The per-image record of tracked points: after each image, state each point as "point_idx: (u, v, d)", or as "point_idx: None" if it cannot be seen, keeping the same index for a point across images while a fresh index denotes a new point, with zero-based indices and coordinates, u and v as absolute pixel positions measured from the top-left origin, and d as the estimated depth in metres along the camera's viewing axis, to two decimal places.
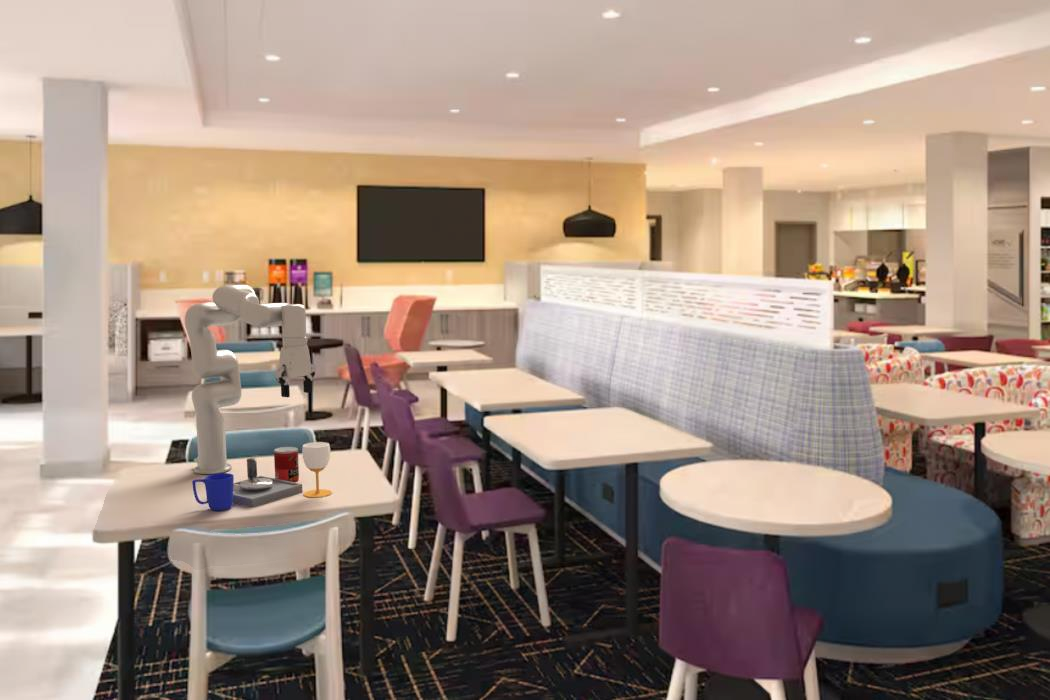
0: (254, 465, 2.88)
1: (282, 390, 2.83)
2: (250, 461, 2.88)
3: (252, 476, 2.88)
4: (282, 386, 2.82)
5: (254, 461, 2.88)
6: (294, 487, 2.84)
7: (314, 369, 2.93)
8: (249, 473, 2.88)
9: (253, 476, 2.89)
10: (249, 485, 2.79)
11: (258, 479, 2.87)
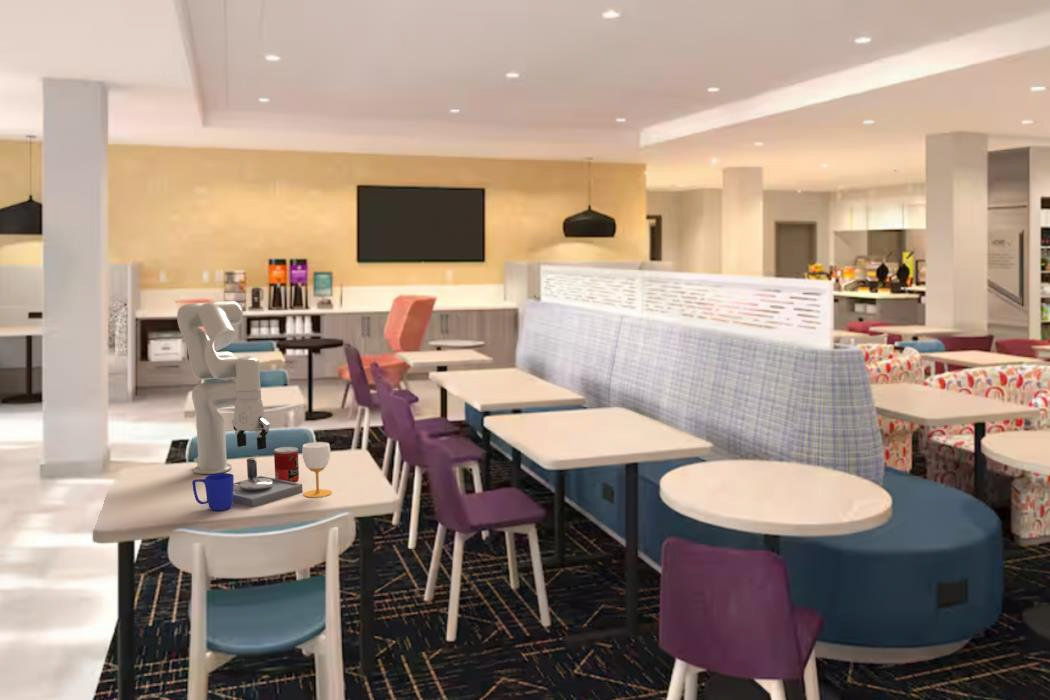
0: (254, 465, 2.88)
1: (263, 442, 2.85)
2: (250, 461, 2.88)
3: (252, 476, 2.88)
4: (263, 438, 2.85)
5: (254, 461, 2.88)
6: (294, 487, 2.84)
7: None
8: (249, 473, 2.88)
9: (253, 476, 2.89)
10: (249, 485, 2.79)
11: (258, 479, 2.87)
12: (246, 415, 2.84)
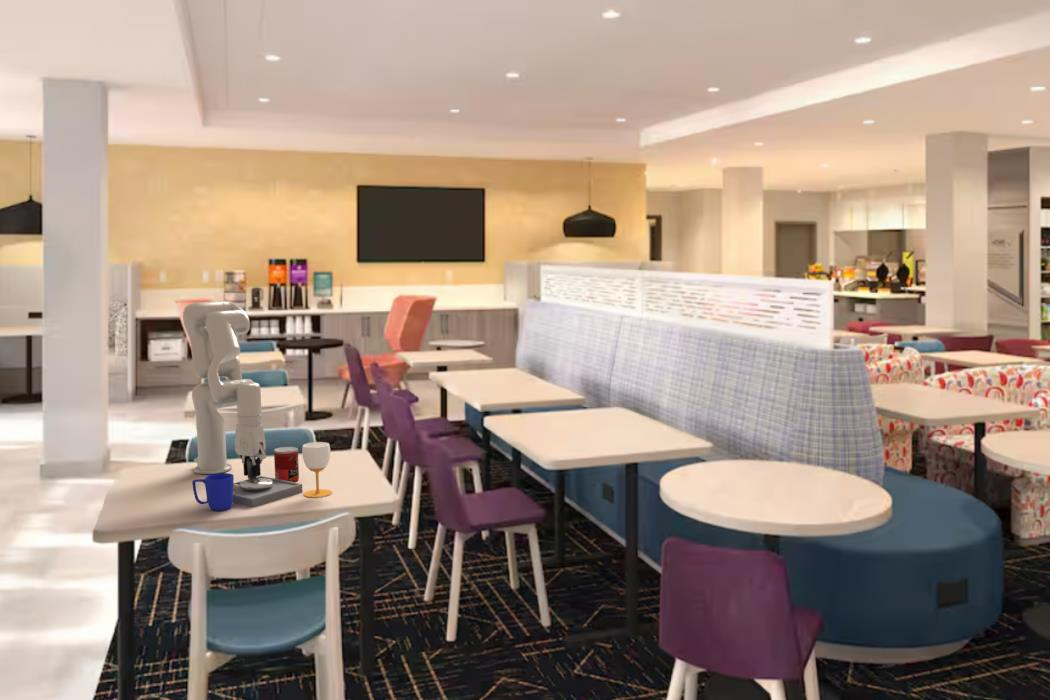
0: None
1: (257, 470, 2.88)
2: (250, 461, 2.88)
3: None
4: (257, 466, 2.88)
5: None
6: (294, 487, 2.84)
7: None
8: (249, 473, 2.88)
9: None
10: (249, 485, 2.79)
11: (258, 479, 2.87)
12: (247, 440, 2.85)
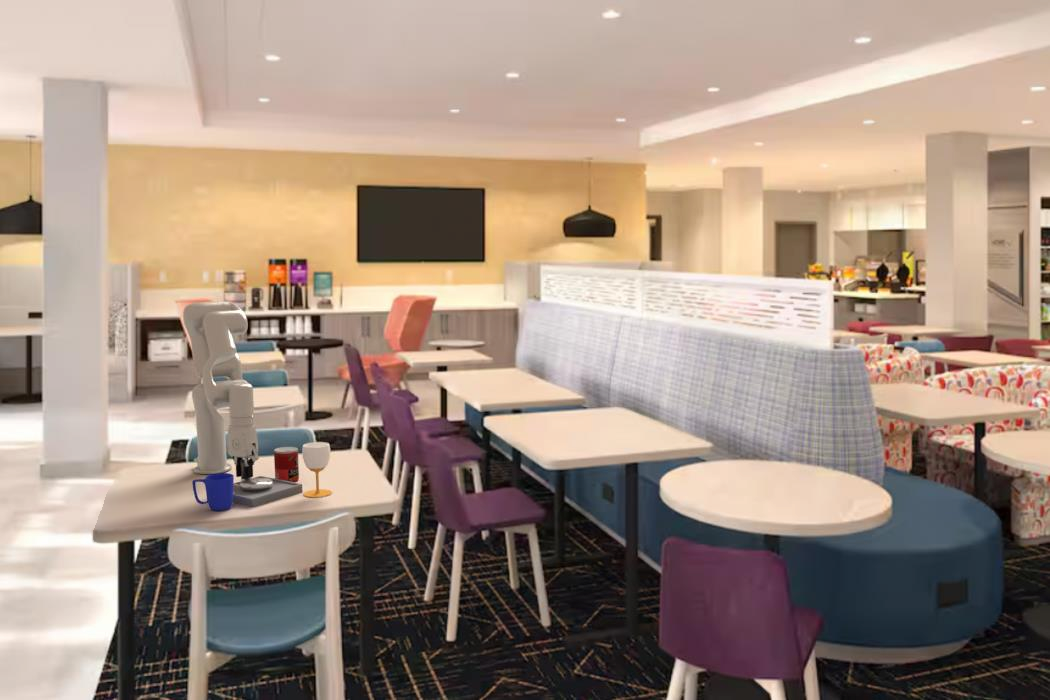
0: None
1: (250, 471, 2.86)
2: None
3: None
4: (250, 467, 2.86)
5: None
6: (294, 487, 2.84)
7: None
8: None
9: None
10: (252, 485, 2.79)
11: (255, 479, 2.86)
12: (239, 441, 2.84)
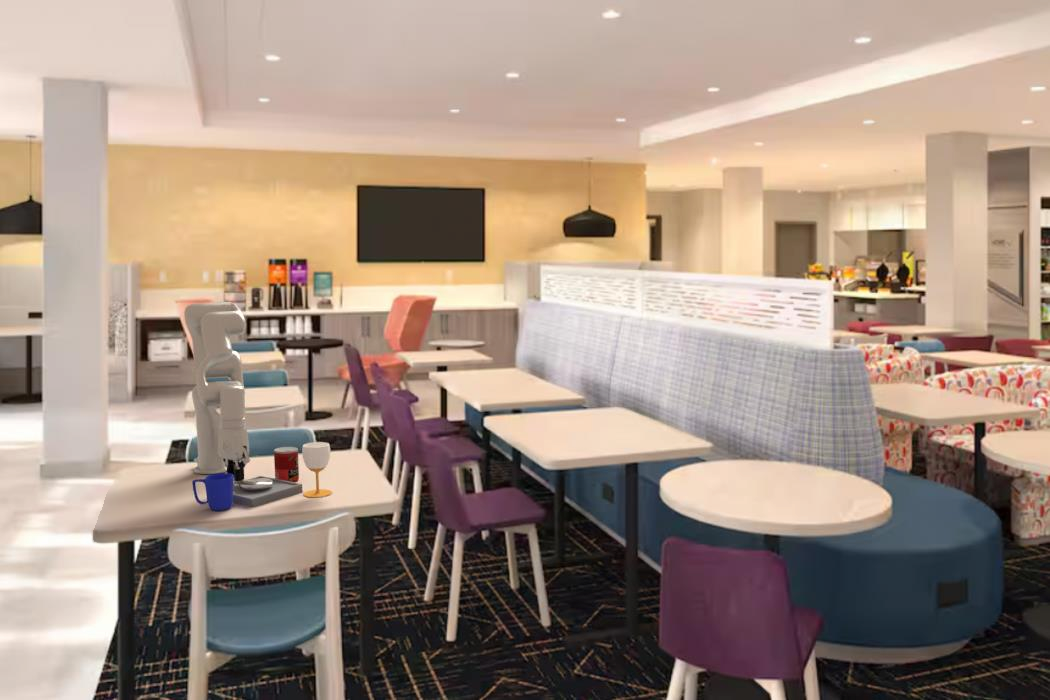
0: None
1: (241, 474, 2.83)
2: None
3: None
4: (241, 470, 2.83)
5: None
6: (294, 487, 2.84)
7: None
8: None
9: None
10: (257, 485, 2.80)
11: (251, 480, 2.86)
12: (230, 444, 2.81)
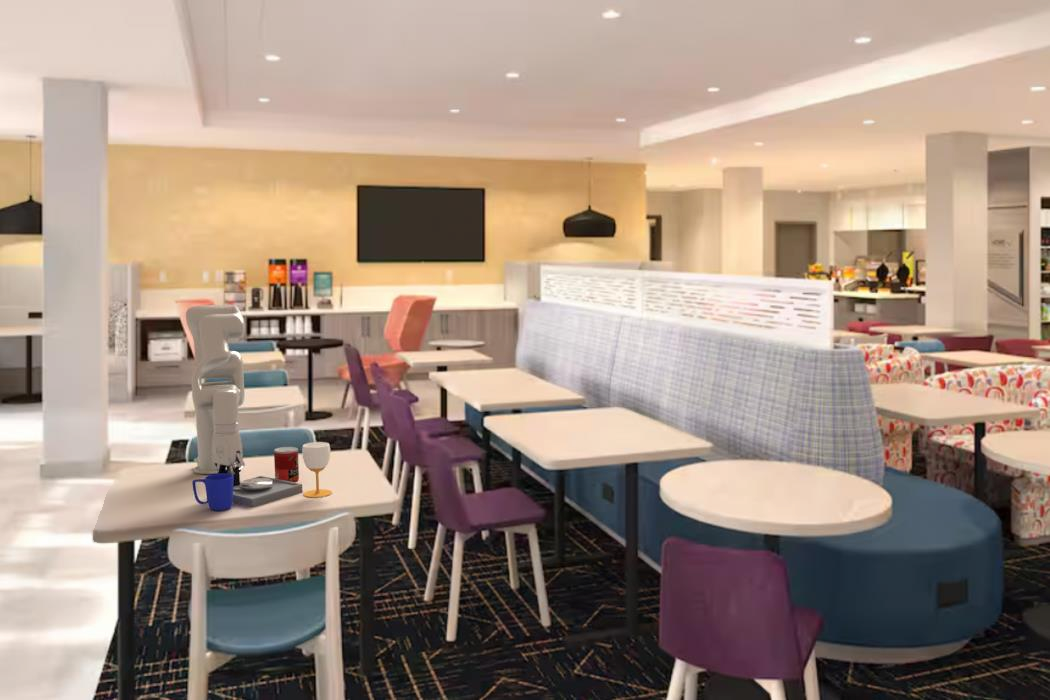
0: None
1: (236, 479, 2.77)
2: (235, 466, 2.81)
3: None
4: (236, 475, 2.77)
5: None
6: (294, 487, 2.84)
7: None
8: None
9: None
10: (265, 483, 2.81)
11: (246, 481, 2.84)
12: (223, 449, 2.75)
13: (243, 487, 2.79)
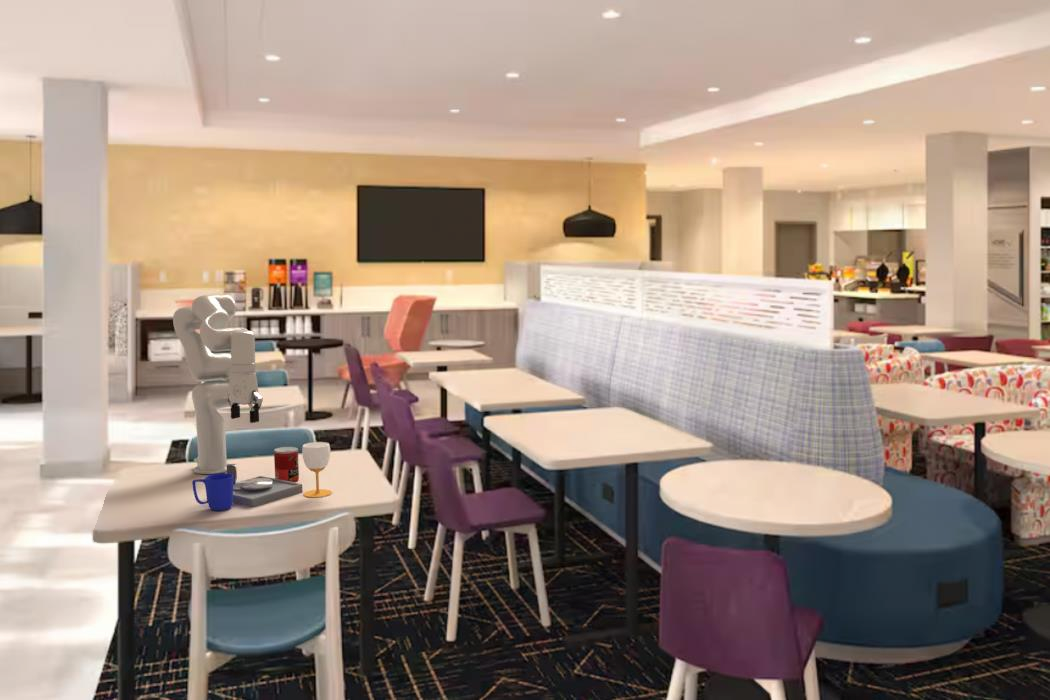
0: None
1: (255, 416, 2.86)
2: (235, 466, 2.81)
3: (236, 481, 2.82)
4: (255, 412, 2.86)
5: None
6: (294, 487, 2.84)
7: None
8: (234, 479, 2.81)
9: None
10: (265, 483, 2.81)
11: (246, 481, 2.84)
12: (240, 388, 2.85)
13: (243, 487, 2.79)
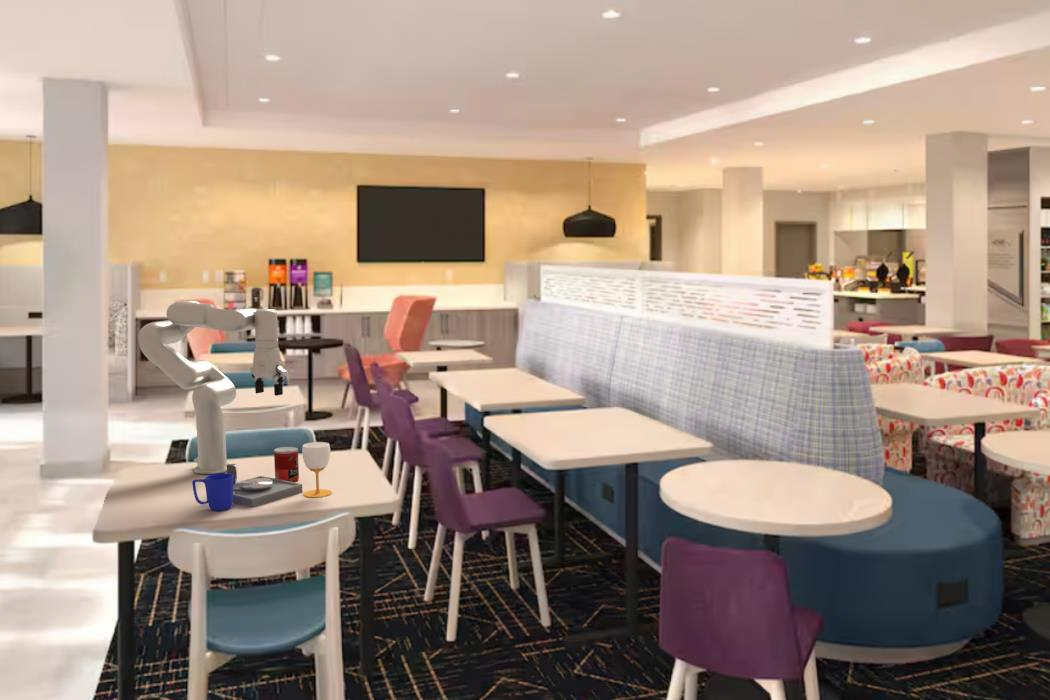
0: None
1: (279, 389, 3.04)
2: (235, 466, 2.81)
3: (236, 481, 2.82)
4: (280, 385, 3.03)
5: None
6: (294, 487, 2.84)
7: None
8: (234, 479, 2.81)
9: None
10: (265, 483, 2.81)
11: (246, 481, 2.84)
12: (264, 363, 3.03)
13: (243, 487, 2.79)
